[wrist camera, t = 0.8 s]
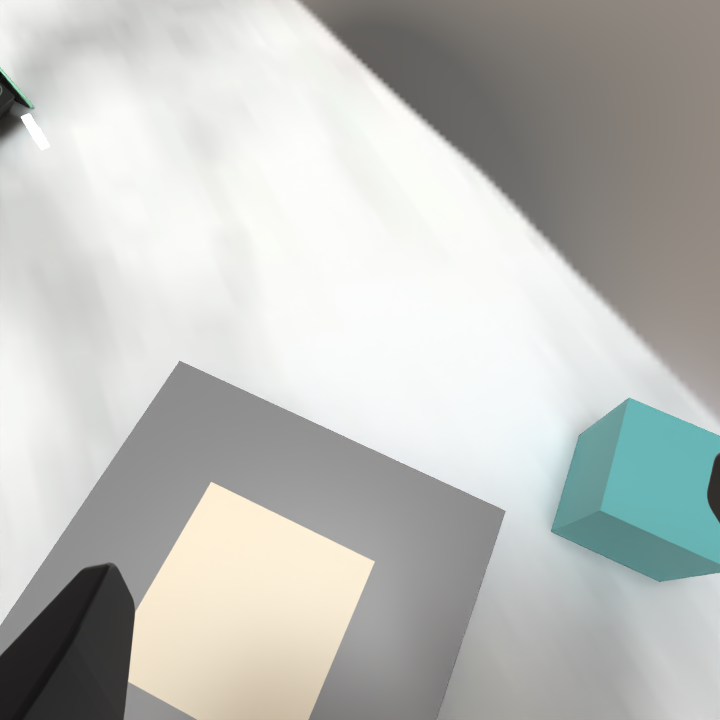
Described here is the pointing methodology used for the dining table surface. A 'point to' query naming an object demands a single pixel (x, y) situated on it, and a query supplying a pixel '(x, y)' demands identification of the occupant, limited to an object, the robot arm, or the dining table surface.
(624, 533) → the teal block
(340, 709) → the base plate
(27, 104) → the dark stepped block
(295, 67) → the dining table surface
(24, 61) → the dining table surface
